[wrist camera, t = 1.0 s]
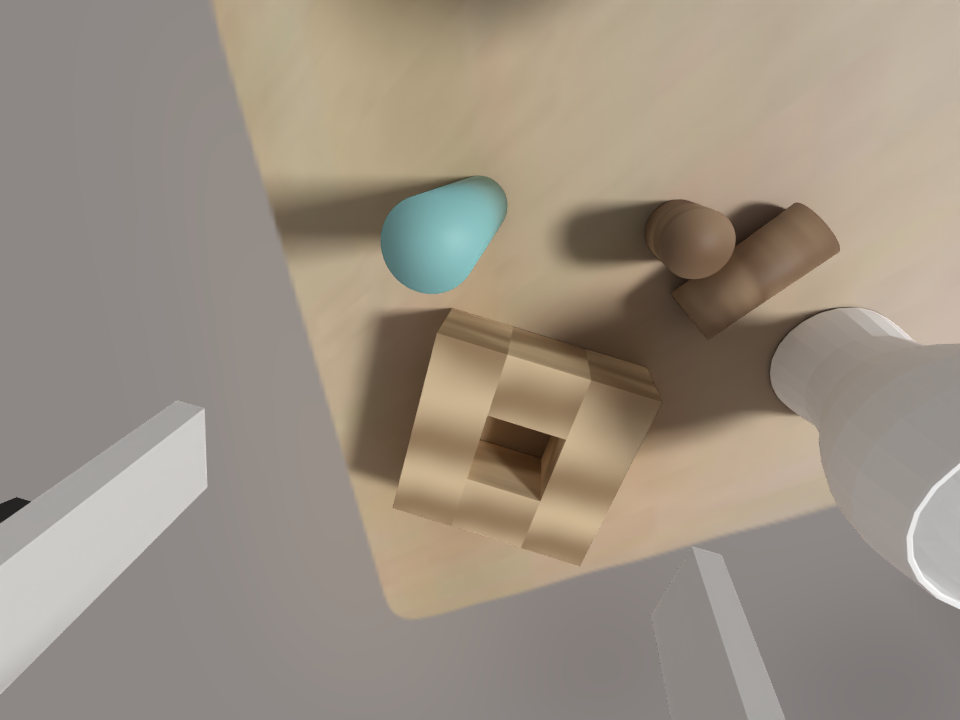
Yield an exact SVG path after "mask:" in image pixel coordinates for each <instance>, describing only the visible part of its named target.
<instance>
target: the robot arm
mask: <svg viewBox="0 0 960 720" xmlns="http://www.w3.org/2000/svg"><path fill="white" fill-rule="evenodd" d="M206 488H207V467H206V438H205V410H204V408H202V407H199V406H195V405H191V404H188V403H184V402H181V401H178V400H177V401H175V402H174V403H173V404H171V405H170V406H168V407H167V408H165V409H164V410H163V411H161V412H160V413H158V414H157V415H155V416H154V417H152V418H151V419H150V420H148V421H147V422H145V423H144V424H142V425H141V426H140V427H138V428H137V429H135V430H134V431H132V432H131V433H130V434H128V435H127V436H125V437H124V438H123V439H121V440H119V441H118V442H117V443H115V444H114V445H112V446H111V447H109V448H108V449H106V450H105V451H104V452H102V453H101V454H99V455H98V456H97V457H95V458H94V459H92V460H91V461H89V462H88V463H86V464H85V465H84V466H82V467H81V468H79V469H78V470H76V471H75V472H74V473H72V474H71V475H69V476H68V477H66V478H65V479H63V480H62V481H61V482H59V483H58V484H56V485H55V486H53V487H52V488H50V489H49V490H48V491H46V492H45V493H43V494H42V495H41V496H39V497H38V498H36V499H35V500H33V501H32V502H31V501H27V500H24V499H20V498H17V497H16V498H14V499H11V500H9V501H7V502H4V503H1V504H0V694H1V693H2V692H3V691H4V690H5V689H6V688H7V687H8V686H9V685H10V684H11V683H12V682H13V681H14V680H15V679H16V678H17V677H18V676H19V675H20V674H21V673H22V672H23V671H24V670H25V669H26V668H27V667H28V666H29V665H30V664H31V663H32V662H33V661H34V660H35V659H36V658H37V657H38V656H39V655H40V654H41V653H42V652H43V651H44V650H45V649H46V648H47V647H48V646H49V645H50V644H51V643H52V642H53V641H54V640H55V639H56V638H57V637H58V636H59V635H60V634H61V633H62V632H63V631H64V630H65V629H66V628H67V627H68V626H69V625H70V624H71V623H72V622H73V621H74V620H75V619H76V618H77V617H78V616H79V615H80V614H81V613H82V612H83V611H84V610H85V609H86V608H87V607H88V606H89V605H90V604H91V603H92V602H93V601H94V600H95V599H96V598H97V597H98V596H99V595H100V594H101V593H102V592H103V591H104V590H105V589H106V588H107V587H108V586H109V585H110V584H111V583H112V582H113V581H114V580H115V579H116V578H117V577H118V576H119V575H120V574H121V573H122V572H123V571H124V570H125V569H126V568H127V567H128V566H129V565H130V564H131V563H132V562H133V561H134V560H135V559H136V558H137V557H138V556H139V555H140V554H141V553H142V552H143V551H144V550H145V549H146V548H147V547H148V546H149V545H150V544H151V543H152V542H153V541H154V540H155V539H156V538H157V537H158V536H159V535H160V534H161V533H162V532H163V531H164V530H165V529H166V528H167V527H168V526H169V525H170V524H171V523H172V522H173V521H174V520H175V519H176V518H177V517H178V516H179V515H180V514H181V513H182V512H183V511H184V510H185V509H186V507H188V506H189V505H190V504H191V503H192V502H193V500H195V499H196V498H197V497H198V496H199V495H200V494H201V493H202V492H203V490H205V489H206ZM651 618H652V624H653V629H654V634H655V639H656V645H657V650H658V655H659V660H660V665H661V670H662V676H663V681H664V686H665V692H666V697H667V702H668V707H669V712H670V718H671V720H785V717H784V715H783V712H782V710H781V707H780V704H779V702H778V699H777V697H776V694H775V691H774V689H773V687H772V684H771V681H770V679H769V676H768V673H767V671H766V668H765V666H764V663H763V661H762V658H761V655H760V653H759V650H758V648H757V645H756V643H755V640H754V637H753V635H752V632H751V629H750V627H749V624H748V622H747V619H746V617H745V614H744V611H743V609H742V606H741V604H740V601H739V599H738V596H737V593H736V591H735V588H734V586H733V583H732V580H731V578H730V575H729V573H728V570H727V568H726V565H725V562H724V560H723V557H722V555H721V554H717V553H714V552H710V551H707V550H703V549H700V548H696V547H693V546H692V547H691V549H690V551H689V552H688V554H687V556H686V557H685V559H684V561H683V562H682V564H681V566H680V567H679V569H678V571H677V572H676V574H675V576H674V577H673V579H672V581H671V582H670V584H669V586H668V587H667V589H666V591H665V593H664V594H663V596H662V597H661V599H660V601H659V603H658V604H657V606H656V607H655V609H654V611H653V613H652V614H651Z"/></svg>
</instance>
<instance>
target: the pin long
mask: <svg viewBox="0 0 960 720" xmlns="http://www.w3.org/2000/svg"><path fill="white" fill-rule="evenodd" d="M506 213H507V199H506V195H505V193H504V191H503V189H502V188H501V186H500V185H499V184H498V183H497V182H495V181H494V180H492V179H491V178H488V177H485V176H472V177H469V178H466V179H463V180H460V181H457V182H454V183H451V184H448V185H445V186H442V187H439V188H436V189H433V190H430V191H427V192H424V193H421V194H418V195H415V196H412V197H409V198H407V199H405V200H403V201H401V202H400V203H399V204H397V205H396V206H395V207H394V208H393V209H392V210H391V212H390V213H389V214H388V216H387V218H386V220H385V222H384V224H383V228H382V232H381V250H382V254H383V258H384V260H385V263H386V265H387V267H388V268H389V270H390V271H391V273H392V274H393V275H394V277H395V278H396V279H397V280H398V281H400V282H401V283H402V284H403V285H405V286H406V287H408V288H410V289H412V290H414V291H417V292H421V293H426V294H438V293H443V292H447V291H449V290H451V289H454V288H455V287H457V286H458V285H460V284H461V283H462V282H463V281H464V280H465V279H466V278H467V276H468V275H469V274H470V272H471V271H472V269H473V267H474V266H475V264H476V263H477V261H478V260H479V258H480V257H481V255H482V254H483V252H484V250H485V249H486V247H487V246H488V244H489V243H490V241H491V240H492V238H493V237H494V235H495V233H496V232H497V230H498V229H499V227H500V226H501V224H502V223H503V221H504V219H505V216H506Z"/></svg>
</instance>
